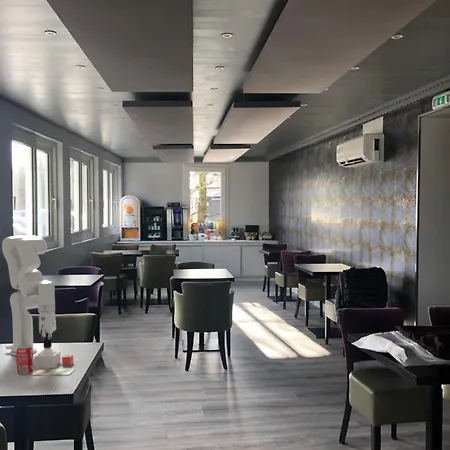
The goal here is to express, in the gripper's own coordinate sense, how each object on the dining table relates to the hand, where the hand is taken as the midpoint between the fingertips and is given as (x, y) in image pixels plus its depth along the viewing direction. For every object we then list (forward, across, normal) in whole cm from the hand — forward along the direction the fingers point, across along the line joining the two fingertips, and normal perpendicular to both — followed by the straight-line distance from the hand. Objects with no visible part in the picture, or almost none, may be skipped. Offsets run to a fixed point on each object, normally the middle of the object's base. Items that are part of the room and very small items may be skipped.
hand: (47, 347), depth 250 cm
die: (+8, +1, -9) cm, 12 cm away
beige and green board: (+9, -12, -7) cm, 16 cm away
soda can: (+9, -12, +6) cm, 16 cm away
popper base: (+8, 0, 0) cm, 9 cm away
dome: (+5, 0, 0) cm, 5 cm away
